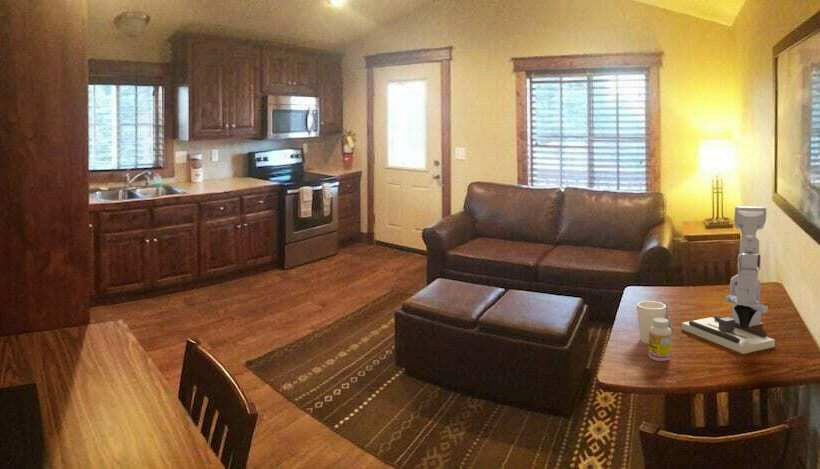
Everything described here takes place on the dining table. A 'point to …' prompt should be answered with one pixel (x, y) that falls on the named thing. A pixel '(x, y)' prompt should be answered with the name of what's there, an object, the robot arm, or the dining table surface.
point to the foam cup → (648, 316)
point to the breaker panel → (747, 339)
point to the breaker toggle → (726, 324)
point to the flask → (667, 316)
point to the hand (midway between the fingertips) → (744, 327)
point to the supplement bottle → (660, 340)
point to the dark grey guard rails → (725, 333)
